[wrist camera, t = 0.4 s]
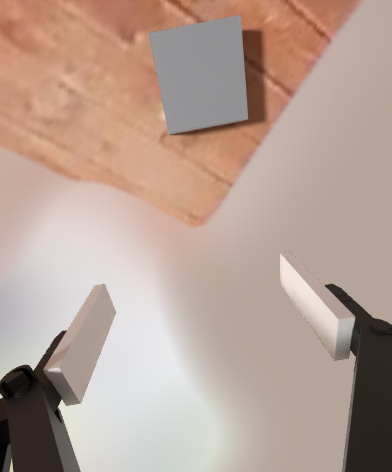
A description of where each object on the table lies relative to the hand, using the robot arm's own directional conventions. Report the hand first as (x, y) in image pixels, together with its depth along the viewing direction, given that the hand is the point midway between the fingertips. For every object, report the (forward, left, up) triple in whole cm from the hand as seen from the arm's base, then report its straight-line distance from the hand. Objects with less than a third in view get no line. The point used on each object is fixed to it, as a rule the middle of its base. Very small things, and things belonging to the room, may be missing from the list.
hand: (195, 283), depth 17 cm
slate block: (-17, +5, -27) cm, 32 cm away
